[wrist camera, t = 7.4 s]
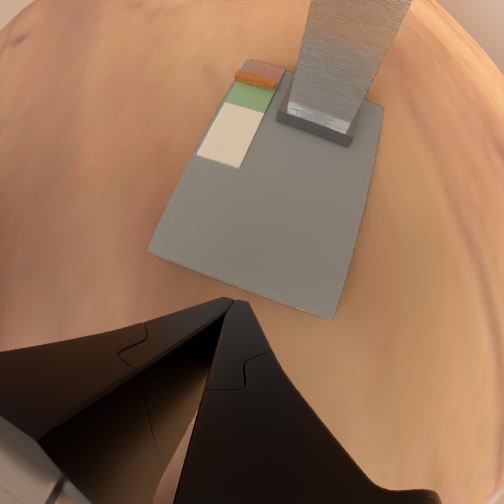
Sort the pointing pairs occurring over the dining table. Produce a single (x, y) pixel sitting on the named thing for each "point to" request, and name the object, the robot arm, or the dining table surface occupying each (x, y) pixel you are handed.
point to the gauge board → (270, 200)
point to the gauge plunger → (335, 65)
